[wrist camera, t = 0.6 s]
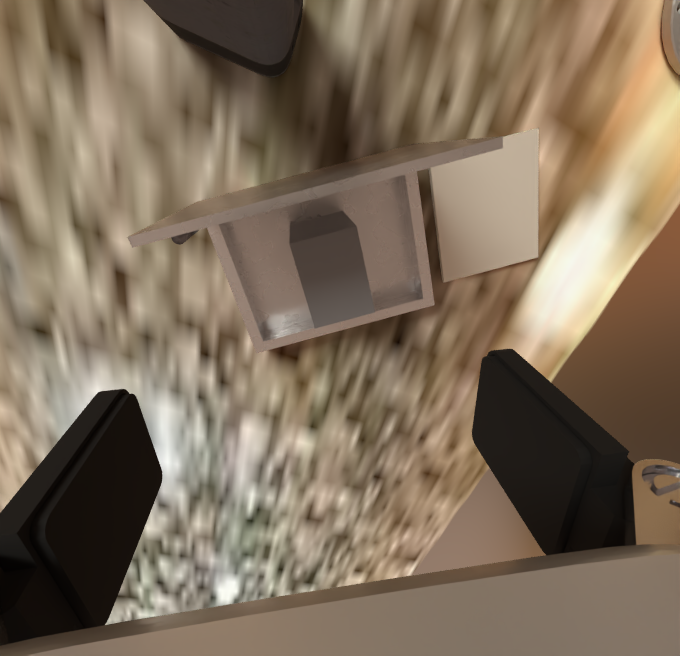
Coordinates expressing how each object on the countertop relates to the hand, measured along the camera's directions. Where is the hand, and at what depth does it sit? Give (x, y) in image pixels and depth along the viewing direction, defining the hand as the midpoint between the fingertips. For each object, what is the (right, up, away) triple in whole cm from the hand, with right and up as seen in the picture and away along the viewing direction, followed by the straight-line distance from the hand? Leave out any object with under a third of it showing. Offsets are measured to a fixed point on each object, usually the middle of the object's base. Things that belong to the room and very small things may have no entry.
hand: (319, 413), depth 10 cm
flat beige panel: (+15, +14, +26) cm, 33 cm away
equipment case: (-1, +10, +26) cm, 27 cm away
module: (-1, +9, +25) cm, 27 cm away
